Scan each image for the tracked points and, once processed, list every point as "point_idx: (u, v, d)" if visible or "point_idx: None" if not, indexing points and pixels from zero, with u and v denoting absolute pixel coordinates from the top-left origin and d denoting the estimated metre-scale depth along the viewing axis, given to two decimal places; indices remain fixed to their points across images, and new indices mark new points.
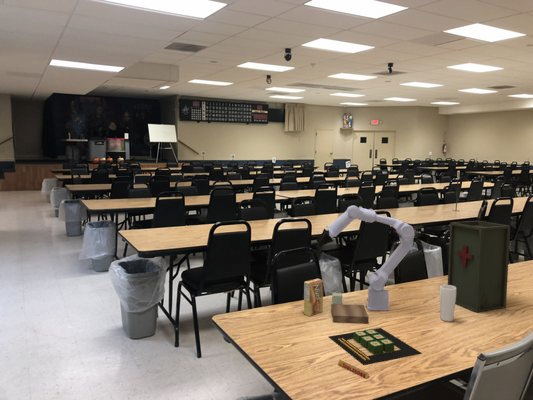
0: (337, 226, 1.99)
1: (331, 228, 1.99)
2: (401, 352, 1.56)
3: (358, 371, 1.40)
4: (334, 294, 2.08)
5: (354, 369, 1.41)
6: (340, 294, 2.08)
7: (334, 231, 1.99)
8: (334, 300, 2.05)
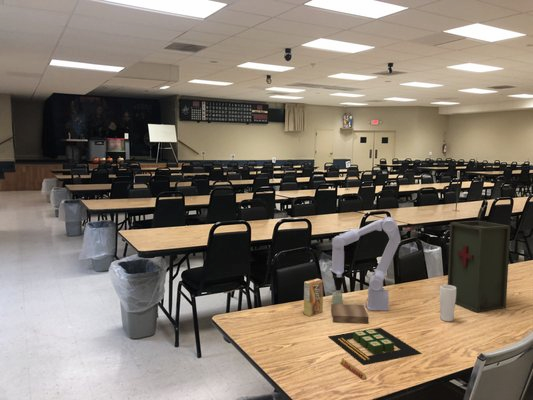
0: (337, 264, 2.03)
1: (334, 269, 2.04)
2: (401, 352, 1.55)
3: (357, 371, 1.40)
4: (334, 294, 2.08)
5: (353, 369, 1.41)
6: (340, 294, 2.08)
7: (338, 269, 2.03)
8: (334, 300, 2.05)
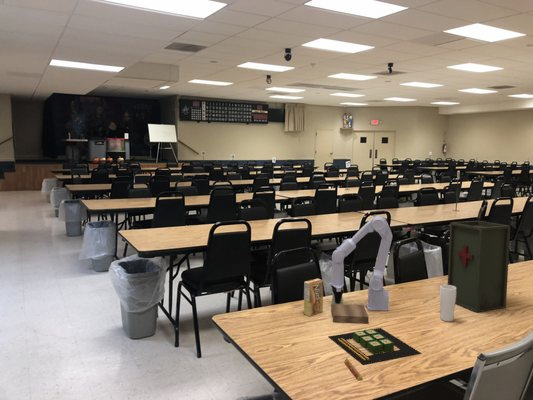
0: (337, 278, 2.04)
1: (334, 283, 2.05)
2: (401, 352, 1.55)
3: (354, 371, 1.40)
4: None
5: (352, 369, 1.41)
6: None
7: (338, 283, 2.04)
8: (334, 300, 2.05)
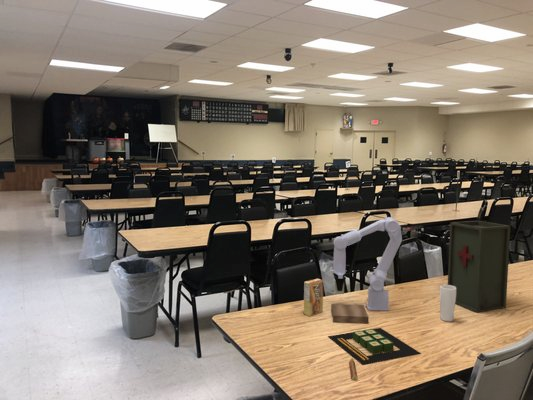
0: (338, 265, 2.01)
1: (336, 270, 2.02)
2: (400, 352, 1.55)
3: (352, 371, 1.40)
4: None
5: (352, 369, 1.41)
6: None
7: (340, 270, 2.01)
8: (336, 288, 2.03)
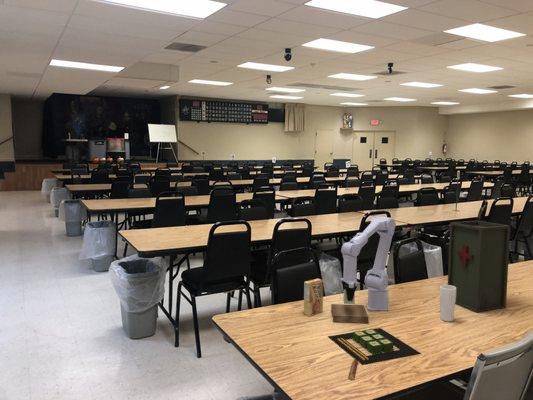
0: (349, 273, 1.87)
1: (346, 278, 1.88)
2: (400, 352, 1.55)
3: (350, 371, 1.40)
4: (345, 291, 1.91)
5: (351, 369, 1.42)
6: None
7: (351, 279, 1.87)
8: (346, 297, 1.89)
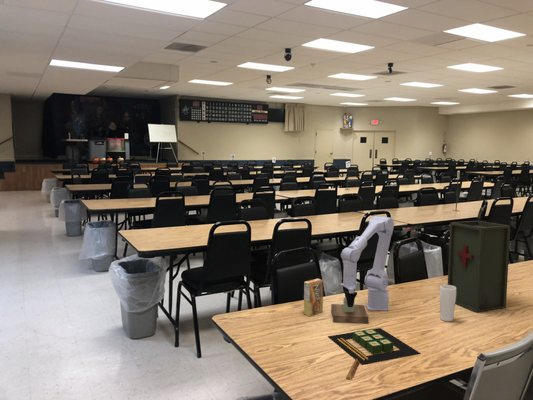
0: (349, 278, 1.87)
1: (346, 284, 1.88)
2: (400, 352, 1.55)
3: (349, 371, 1.40)
4: (345, 299, 1.91)
5: None
6: None
7: (350, 284, 1.87)
8: (345, 305, 1.89)
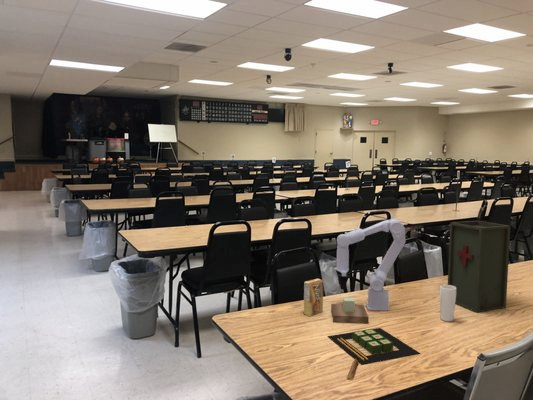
0: (342, 262, 2.01)
1: (339, 268, 2.02)
2: (400, 352, 1.55)
3: (350, 371, 1.40)
4: (345, 299, 1.91)
5: (351, 368, 1.42)
6: (352, 299, 1.91)
7: (343, 268, 2.01)
8: (345, 305, 1.89)
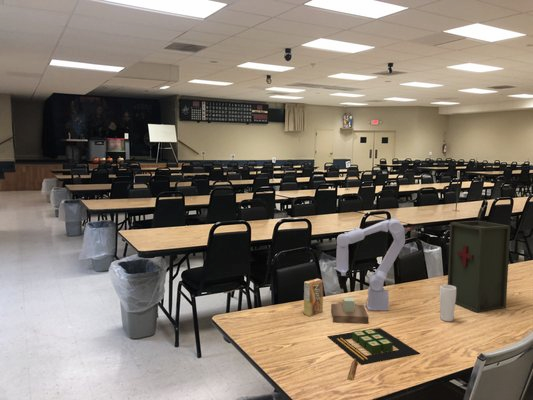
0: (341, 262, 2.02)
1: (339, 267, 2.03)
2: (399, 352, 1.55)
3: (350, 371, 1.40)
4: (345, 299, 1.91)
5: (351, 369, 1.42)
6: (352, 299, 1.91)
7: (343, 267, 2.02)
8: (345, 305, 1.89)
